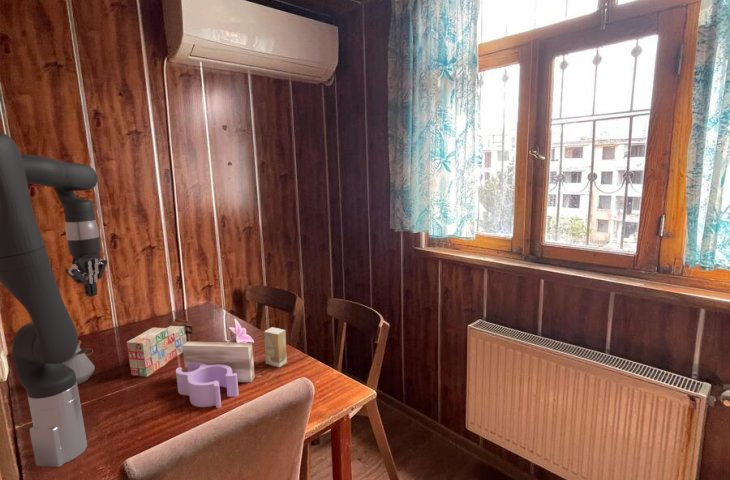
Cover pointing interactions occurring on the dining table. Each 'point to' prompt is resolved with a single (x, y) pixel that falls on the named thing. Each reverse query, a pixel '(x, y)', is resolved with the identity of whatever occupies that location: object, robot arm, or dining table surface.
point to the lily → (241, 333)
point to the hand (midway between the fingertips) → (92, 295)
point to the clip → (206, 383)
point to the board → (222, 356)
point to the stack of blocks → (155, 349)
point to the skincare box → (275, 346)
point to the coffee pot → (81, 364)
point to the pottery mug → (182, 324)
